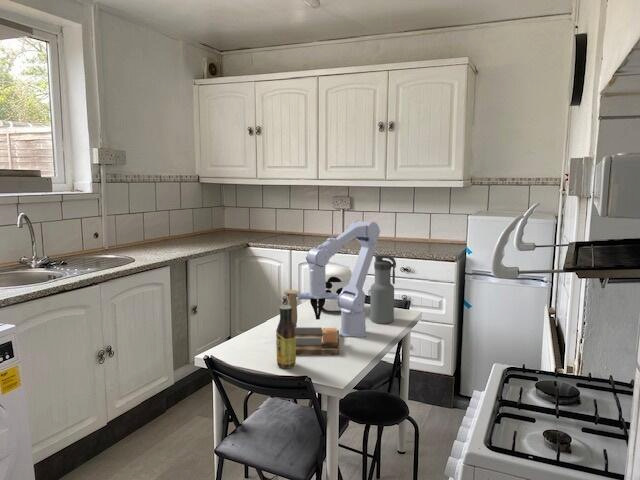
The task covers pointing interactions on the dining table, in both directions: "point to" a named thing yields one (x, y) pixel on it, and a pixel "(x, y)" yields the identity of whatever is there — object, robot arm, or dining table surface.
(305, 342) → the gray rectangular frame
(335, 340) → the block
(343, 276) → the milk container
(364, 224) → the robot arm
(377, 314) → the water bottle
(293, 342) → the sauce bottle
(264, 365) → the dining table surface
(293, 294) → the handle
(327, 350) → the board
